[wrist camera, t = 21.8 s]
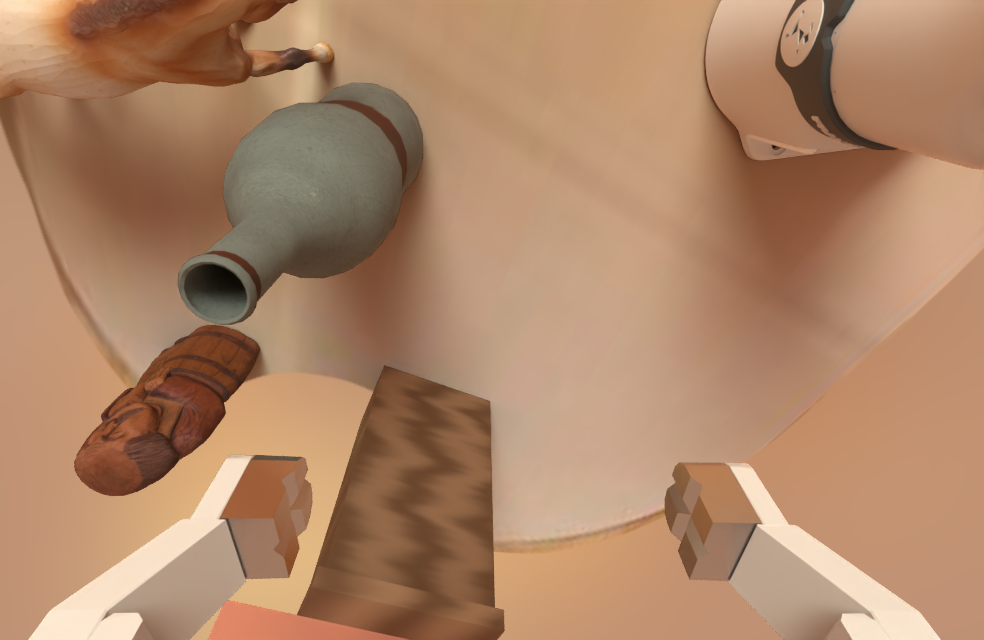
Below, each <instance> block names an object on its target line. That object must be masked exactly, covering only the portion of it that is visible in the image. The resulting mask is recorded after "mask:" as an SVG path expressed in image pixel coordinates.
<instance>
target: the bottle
mask: <svg viewBox="0 0 984 640" xmlns="http://www.w3.org/2000/svg"><path fill="white" fill-rule="evenodd" d="M422 159H423V135H422V131H421V128H420V124H419V121H418V118H417V116H416V115H415V113H414V112H413V110H412V109H411V107H410V106H409V104H408V103H407V102H406V101H405V100H404V99H403V98H401V97H400V96H399V95H398V94H396V93H395V92H394V91H392V90H390V89H387V88H384V87H382V86H379V85H377V84H372V83H350V84H347V85H344V86H341V87H338V88H335V89H334V90H332V91H331V92H330V93H329V94H327V95H326V96H325V97H324V98H323V99H321V100H320V101H319V102H318V103H298V104H295V105H292V106H289V107H286V108H283V109H280V110H276V111H274V112H273V113H272V114H271V115H270V116H269V117H267V118H266V119H265V120H264V121H263V122H261V123H260V124H259V125H258V126H257V127H255V128H254V129H253V130H252V131H251V132H249V133H248V134H247V135H246V136H245V137H244V138H242V139H241V141H240V143H239V145H238V147H237V149H236V151H235V153H234V155H233V156H232V158H231V160H230V162H229V164H228V166H227V168H226V171H225V179H224V188H223V198H224V202H225V207H226V211H227V216H228V219H229V221H230V223H231V224H232V226H233V228H234V229H232V230H231V231H230V232H229V233H228V234H226V235H225V236H224V237H223V238H222V239H221V240H219V241H218V242H217V243H216V244H215V245H213V246H212V247H211V248H210V249H209V250H207V251H206V252H205V253H204V254H202V255H199V256H196V257H192V258H191V259H190V260H188V261H187V262H186V263H185V264H183V266H182V268H181V270H180V272H179V275H178V287H179V291H180V295H181V298H182V300H183V301H184V303H185V304H186V306H187V307H188V308H189V309H190V310H191V311H192V312H193V313H194V314H195V315H196V316H198V317H200V318H202V319H203V320H205V321H208V322H212V323H215V324H224V325H232V324H236V323H239V322H243V321H244V320H245V319H247V318H248V317H249V316H251V314H252V313H253V311H254V310H255V308H256V304H257V301H258V300H259V299H260V298H261V297H262V296H263V295H264V294H265V292H266V291H267V290H268V289H269V288H270V287H271V286H272V284H273V283H274V282H275V281H276V280H277V279H278V278H279V277H280V275H281V274H282V273H283V272H284V273H287V274H290V275H294V276H297V277H300V278H326V277H329V276H333V275H337V274H340V273H344V272H346V271H348V270H350V269H352V268H353V267H355V266H356V265H358V264H359V263H361V262H362V261H364V260H365V259H366V258H368V257H369V256H371V255H372V254H373V252H374V251H375V250H376V249H377V248H378V247H379V246H380V245H381V244H382V242H383V241H384V240H385V238H386V237H387V235H388V234H389V233H390V231H391V230H392V228H393V227H394V226H395V223H396V220H397V216H398V213H399V209H400V206H401V201H402V193H403V192H405V191H406V190H407V189H408V188H409V186H410V185H411V183H412V182H413V181H414V179H415V178H416V176H417V175H418V172H419V169H420V166H421V162H422Z"/></svg>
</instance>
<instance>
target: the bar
mask: <svg viewBox="0 0 984 640" xmlns="http://www.w3.org/2000/svg"><path fill="white" fill-rule="evenodd" d="M208 640H409V639H404V638H399V637H395V636H390V635H386V634H381V633H376V632H372V631H367V630H363V629H358V628H353V627H349V626H344V625H340V624H335V623H331V622H326V621H321V620H317V619H312V618H308V617H303V616H298V615H293V614H289V613H284V612H279V611H276V610H271V609H266V608H262V607H257V606H252V605H248V604H243V603H238V602H234V601H230V600H228V601H227V602H226V603H225V604H224V605H223V607H222V609H221V611H220V614H219V616H218V618H217V620H216V622H215V624H214V627H213V629H212V631H211V633H210V636H209V638H208Z"/></svg>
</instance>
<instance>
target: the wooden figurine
mask: <svg viewBox="0 0 984 640" xmlns="http://www.w3.org/2000/svg"><path fill="white" fill-rule="evenodd" d="M259 350H260V349H259V346H258V344H257V343H256V342H255V341H254V340H252V339H251V338H249V337H247V336H245V335H244V334H242V333H241V332H239V331H237V330H234V329H230V328H227V327H224V326H215V325H206V326H202V327H200V328H198V329H196V330H195V331H194V332H193V333H191V334H190V335H189V336H187V337H184V338H181V339H179V340H177V341H176V342H175V344H174V346H172V347H171V348H168V349H165V350H164V351H162V352H161V354H160V355H159V357H157V358H156V359H155V360H154V361H153V362H152V363H151V365H150V366H149V368H148V369H147V370H146V372H145V373H144V374H143V375H142V377H141V378H140V380H139V382H138V384H137V386H136V387H135V388H129V389H127V390H125V391H124V392H123V393H122V394H121V395H120V396H119V397H118V398H117V399H116V400H115V401H114V402H113V403H112V404H111V405H110V406H109V407H108V408H107V409H106V410H105V411H104V412H103V413H102V414H101V418H102V421H103V422H102V423H101V424H100V425H99V426H98V427H97V428H96V429H95V430H94V431H93V432H92V433H91V435H90V436H89V437H88V438H87V440H86V441H85V443H84V444H83V445H82V447H81V449H80V450H79V453H78V454H77V457H76V459H75V461H74V464H75V465H74V467H75V471H76V473H77V475H78V477H79V478H80V480H81V481H82V482H83V483H84V484H86V485H87V486H88V487H89V488H91V489H93V490H94V491H96V492H99V493H101V494H104V495H109V496H124V495H128V494H131V493H134V492H138V491H139V490H142V489H144V488H145V487H147V486H148V485H150V484H153V483H154V482H156V481H158V480H160V479H161V478H162V477H164V476H165V475H166V474H167V473H168V472H169V471H170V470H171V469H172V468H173V467H174V466H175V465H176V464H177V462H178V461H179V460H180V459H182V458H183V457H185V456H187V455H188V454H190V453H192V452H193V451H194V450H195V449H196V448H198V447H199V446H200V445H201V444H203V443H204V442H205V441H206V440H207V439H208V438H209V437H210V435H211V434H212V432H213V431H214V430H215V428H216V427H217V425H218V424H219V423H220V421H221V420H222V419H223V417H224V416H225V413H226V412H225V406H224V402H226V401H227V400H228V399H229V398H230V396H231V395H232V394H234V393H235V391H236V390H237V389H238V388H239V387H240V385H242V383H243V382H244V381H245V379H246V377H247V376H248V374H249V373H250V371H251V370H252V368H253V366H254V364H255V361H256V358H257V356H258V353H259Z"/></svg>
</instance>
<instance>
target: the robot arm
mask: <svg viewBox="0 0 984 640" xmlns="http://www.w3.org/2000/svg"><path fill="white" fill-rule="evenodd" d="M705 63H706V75H707V81H708V85H709V89H710V92H711V94H712V96H713V99H714V101H715V102H716V104H717V106H718V107H719V109H720V110H721V111H722V113H723V114H724V115H725V116H726V117H727V118H728V119H729V120H730V121H731V122H732V123H733V124H734V125H735V127H736V128H737V130H738V131H739V135H740V139H741V142H742V146H743V148H744V151H745V153H746V154H747V156H748V157H749V158H751V159H755V160H760V161H763V160H772V159H780V158H787V157H795V156H803V155H811V154H819V153H827V152H835V151H843V150H851V149H859V148H871V149H878V150H895V149H902V150H905V151H909V152H913V153H916V154H920V155H924V156H927V157H931V158H935V159H938V160H942V161H946V162H950V163H953V164H957V165H960V166H964V167H968V168H972V169H979V170H984V0H721V2H720V4H719V6H718V8H717V11H716V13H715V16H714V18H713V21H712V24H711V27H710V31H709V35H708V40H707V46H706V60H705ZM772 145H776V147H775V148H773V149H772ZM307 471H308V468H307V463H306V459H305V458H303V457H288V456H264V455H255V456H254V455H253V456H251V455H231V456H230V457H228V458H227V459H226V460H225V461H224V462H223V464H222V466H221V467H220V469H219V471H218V472H217V474H216V476H215V478H214V479H213V481H212V482H211V484H210V486H209V487H208V489H207V491H206V493H205V494H204V496H203V497H202V499H201V501H200V502H199V504H198V506H197V508H196V509H195V511H194V513H193V514H192V516H191V518H190V519H181V520H180V521H179V522H177V523H176V524H174V525H173V526H172V527H170V528H168V529H167V530H166V531H164V532H163V533H161V534H160V535H158V536H157V537H155V538H154V539H153V540H152V541H150V542H148V543H147V544H146V545H144V546H142V547H141V548H140V549H138V550H137V551H136V552H134V553H133V554H131V555H130V556H128V557H127V558H125V559H124V560H122V561H121V562H119V563H118V564H117V565H115V566H114V567H112V568H111V569H109V570H108V571H106V572H105V573H103V574H102V575H101V576H99V577H98V578H96V579H95V580H94V581H92V582H91V583H89V584H88V585H86V586H85V587H83V588H82V589H81V590H79V591H78V592H76V593H75V594H73V595H72V596H70V597H69V598H67V599H66V600H65V601H63V602H62V603H60V604H59V605H58V606H56V607H55V608H53V609H52V610H50V611H49V613H48V614H47V616H46V617H45V618H44V620H43V621H42V622H41V624H40V625H39V626H38V628H37V629H36V630H35V632H34V633H33V634H32V636H31V637H30V638H29V640H190V639H191V638H192V637H193V636H194V635H195V634H196V632H197V631H198V630H199V629H200V628H201V627H202V626H203V625H204V624H205V623H206V622H207V621H208V620H209V619H210V618H211V617H212V616H213V615H214V614H215V613H216V612H217V611H218V610H219V609H220V608H221V607H222V606H223V605H224V604H225V603H226V602H227V601H228V600H229V599H230V598H231V597H232V596H233V594H234V593H235V592H236V591H237V590H238V589H239V588H240V587H241V586H242V585H243V584H244V583H245V582H246V579H262V578H289V577H290V574H291V571H292V568H293V565H294V562H295V559H296V557H297V554H298V551H299V544H298V539H297V536H299V535H300V534H301V533H302V532H303V531H304V530H306V528H307V525H308V522H309V518H310V514H311V507H312V488H311V484H310V483H309V482H308V481H307V480H305V476H306V473H307ZM672 475H673V477H674V480H675V482H676V483H675V484H673V485H672V486H671V487H669V488H668V490H667V493H666V497H665V515H666V519H667V523H668V526H669V528H670V531H671V533H672V534H673V535H675V536H676V537H677V538H678V539H679V540H680V541H681V544H680V547H679V550H678V552H679V554H680V557H681V559H682V562H683V564H684V567H685V569H686V572H687V574H688V577H689V579H690V580H719V581H730V582H729V584H730V585H731V586H732V587H733V588H734V589H735V590H736V591H737V592H738V593H739V594H740V595H741V596H742V597H743V598H744V599H745V600H746V601H747V602H748V603H749V604H750V605H751V606H752V607H753V608H754V609H755V611H756V612H757V613H758V614H759V615H760V616H761V617H762V618H763V619H764V620H765V621H766V622H767V623H768V624H769V625H770V626H771V627H772V628H773V629H774V630H775V631H776V632H777V633H778V634H779V635H780V636H781V637H782V638H783V640H941V639H940V638H939V637H938V635H937V634H936V633H935V632H934V630H933V629H932V628H931V626H930V625H929V624H928V622H927V621H926V620H925V619H924V617H923V616H922V615H921V613H920V612H919V611H917V610H916V609H914V608H913V607H912V606H910V605H909V604H907V603H906V602H905V601H903V600H902V599H900V598H899V597H897V596H896V595H895V594H893V593H892V592H890V591H889V590H887V589H886V588H884V587H883V586H882V585H880V584H879V583H877V582H876V581H875V580H873V579H872V578H870V577H869V576H868V575H866V574H865V573H863V572H862V571H860V570H859V569H858V568H856V567H855V566H853V565H852V564H851V563H849V562H848V561H846V560H845V559H843V558H842V557H840V556H839V555H838V554H836V553H835V552H833V551H832V550H831V549H829V548H828V547H826V546H825V545H823V544H822V543H821V542H819V541H818V540H816V539H815V538H814V537H812V536H811V535H809V534H808V533H806V532H805V531H804V530H802V529H801V528H799V527H798V526H796V525H789V524H788V523H787V521H786V519H785V518H784V516H783V515H782V513H781V512H780V510H779V509H778V507H777V506H776V504H775V503H774V501H773V499H772V498H771V496H770V495H769V493H768V492H767V490H766V489H765V487H764V485H763V484H762V482H761V481H760V479H759V478H758V476H757V475H756V473H755V472H754V470H753V468H752V467H751V466H750V465H748V464H747V463H678V464H677V465H676V466H675V469H674V471H673V474H672Z"/></svg>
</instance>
